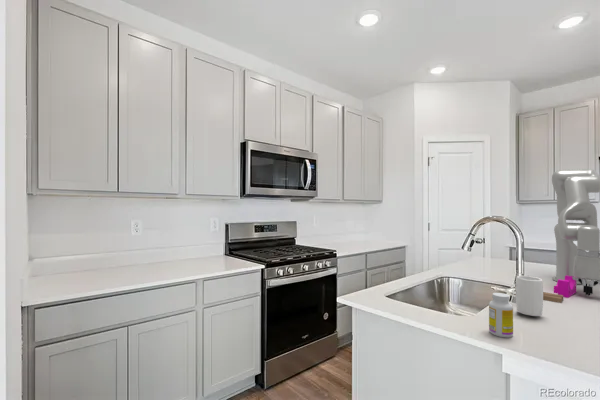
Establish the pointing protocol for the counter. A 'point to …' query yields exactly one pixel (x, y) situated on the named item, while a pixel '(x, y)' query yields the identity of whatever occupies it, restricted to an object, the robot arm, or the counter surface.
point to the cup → (529, 295)
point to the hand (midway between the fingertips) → (588, 294)
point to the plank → (552, 297)
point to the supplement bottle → (501, 315)
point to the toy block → (566, 287)
